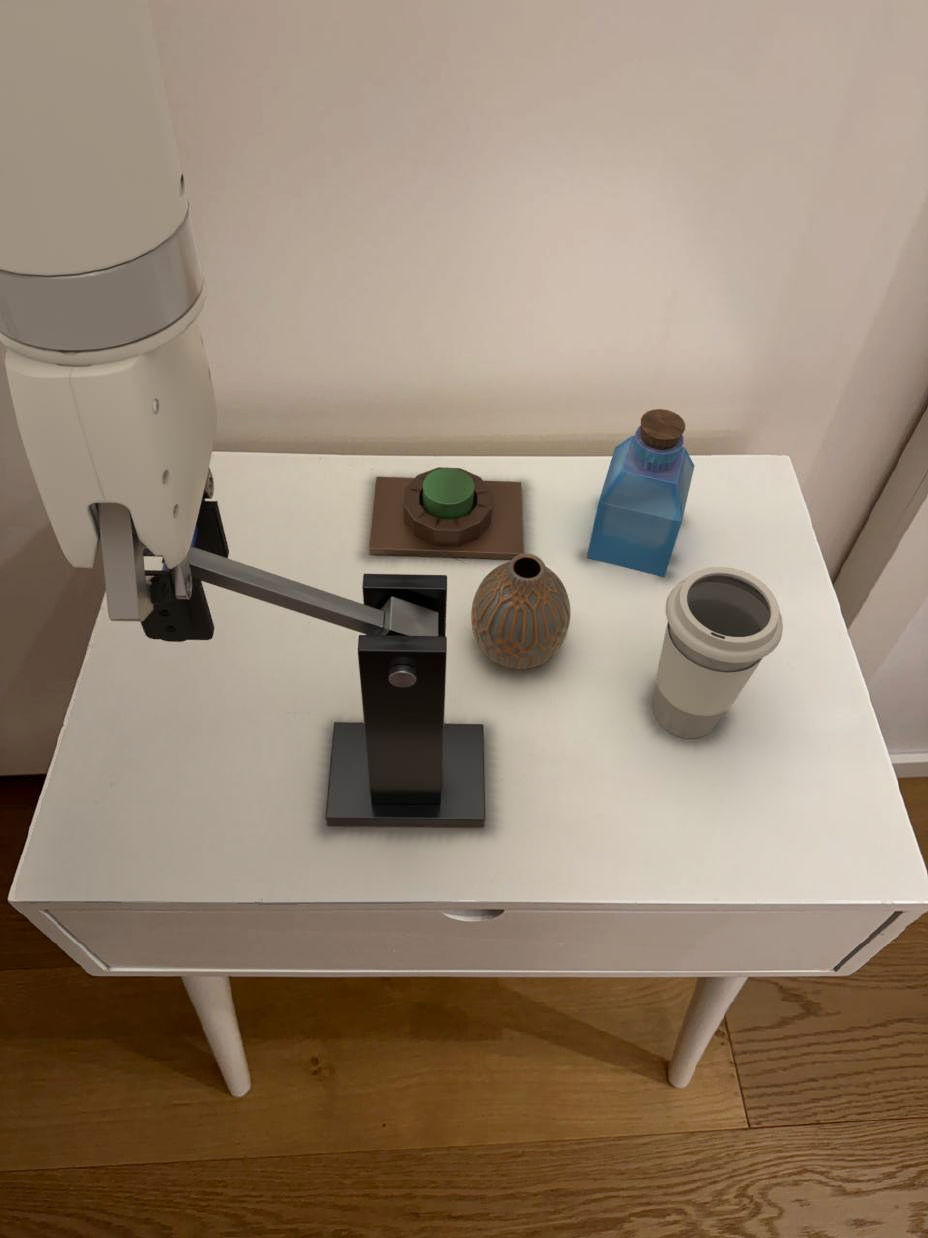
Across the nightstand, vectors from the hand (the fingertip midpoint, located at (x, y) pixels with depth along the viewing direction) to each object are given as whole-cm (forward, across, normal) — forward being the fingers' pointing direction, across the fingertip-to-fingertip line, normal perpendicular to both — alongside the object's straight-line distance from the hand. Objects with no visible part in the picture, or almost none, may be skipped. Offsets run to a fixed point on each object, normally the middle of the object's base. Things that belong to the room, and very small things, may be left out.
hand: (189, 593), depth 47 cm
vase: (+19, -11, +18) cm, 29 cm away
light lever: (+1, 0, +5) cm, 5 cm away
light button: (+17, -23, +13) cm, 32 cm away
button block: (+19, -23, +13) cm, 33 cm away
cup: (+19, -6, +30) cm, 36 cm away
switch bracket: (+19, 0, +11) cm, 22 cm away
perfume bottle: (+19, -22, +28) cm, 40 cm away
